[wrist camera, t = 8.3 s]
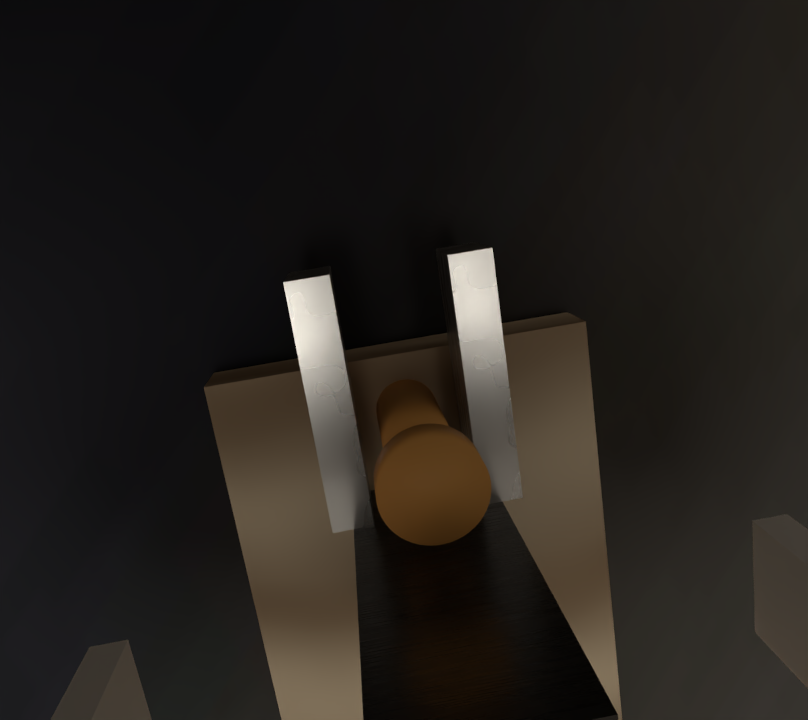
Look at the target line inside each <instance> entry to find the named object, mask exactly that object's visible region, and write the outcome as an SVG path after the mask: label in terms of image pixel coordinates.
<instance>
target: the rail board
mask: <svg viewBox="0 0 808 720" xmlns="http://www.w3.org/2000/svg"><path fill="white" fill-rule="evenodd" d="M502 330H503V339H504V347H505V355H506V363H507V372H508V380H509V388H510V396H511V404H512V413H513V421H514V429H515V437H516V446H517V454H518V462H519V470H520V478H521V487H522V495H523V498H519V499H514V500H508V501H503V503H504V505H505V507H506V509H507V511H508V513H509V515H510V516H511V518H512V520H513V522H514V524H515V526H516V527H517V529H518V531H519V533H520V535H521V537H522V539H523V540H524V542H525V544H526V546H527V548H528V550H529V551H530V553H531V555H532V557H533V559H534V561H535V562H536V564H537V566H538V568H539V570H540V572H541V574H542V575H543V577H544V579H545V581H546V583H547V585H548V586H549V588H550V590H551V592H552V594H553V596H554V598H555V599H556V601H557V603H558V605H559V607H560V609H561V610H562V612H563V614H564V616H565V618H566V620H567V621H568V623H569V625H570V627H571V629H572V631H573V633H574V634H575V636H576V638H577V640H578V642H579V644H580V645H581V647H582V649H583V651H584V653H585V655H586V657H587V658H588V660H589V662H590V664H591V666H592V668H593V669H594V671H595V673H596V675H597V677H598V679H599V680H600V682H601V684H602V686H603V688H604V690H605V692H606V693H607V695H608V697H609V699H610V701H611V703H612V704H613V706H614V708H615V710H616V712H617V714H618V720H622V713H621V702H620V691H619V680H618V669H617V658H616V647H615V636H614V625H613V614H612V603H611V592H610V581H609V571H608V560H607V549H606V538H605V527H604V516H603V505H602V494H601V483H600V472H599V461H598V450H597V439H596V428H595V417H594V406H593V395H592V384H591V373H590V362H589V351H588V340H587V329H586V321H584V320H582V319H580V318H578V317H576V316H574V315H572V314H570V313H568V312H565V313H560V314H554V315H548V316H542V317H536V318H530V319H525V320H519V321H513V322H507V323H502ZM345 351H346V357H347V362H348V368H349V373H350V379H351V384H352V390H353V396H354V401H355V407H356V412H357V418H358V423H359V429H360V434H361V440H362V446H363V451H364V457H365V462H366V468H367V473H368V479H369V485H370V490H375V487H374V468H375V464H376V461H377V458H378V456H379V454H380V452H381V450H382V449H383V447H382V441H381V436H380V430H379V425H378V419H377V414H376V405H377V401H378V398H379V396H380V394H381V393H382V391H383V390H384V389H385V388H386V387H387V386H389V385H390V384H392V383H394V382H396V381H399V380H404V379H411V380H416V381H419V382H421V383H423V384H424V385H426V386H427V387H428V388H429V389H430V390H431V391H432V393H433V395H434V397H435V399H436V401H437V403H438V405H439V407H440V409H441V411H442V413H443V415H444V417H445V419H446V421H447V423H448V425H449V427H452V428H454V429H456V430H458V431H460V432H461V429H460V422H459V415H458V408H457V401H456V394H455V387H454V379H453V372H452V365H451V358H450V351H449V344H448V337H447V333H443V334H437V335H431V336H425V337H420V338H414V339H408V340H402V341H396V342H390V343H385V344H379V345H373V346H367V347H361V348H355V349H350V350H345ZM204 391H205V395H206V399H207V403H208V408H209V412H210V416H211V420H212V425H213V429H214V433H215V438H216V442H217V446H218V450H219V455H220V459H221V463H222V467H223V472H224V476H225V480H226V484H227V489H228V493H229V497H230V502H231V506H232V510H233V514H234V519H235V523H236V527H237V531H238V536H239V540H240V544H241V548H242V553H243V557H244V561H245V565H246V570H247V574H248V578H249V583H250V587H251V591H252V595H253V600H254V604H255V608H256V612H257V617H258V621H259V625H260V629H261V634H262V638H263V642H264V647H265V651H266V655H267V659H268V664H269V668H270V672H271V676H272V681H273V685H274V689H275V693H276V698H277V702H278V706H279V711H280V715H281V719H282V720H363V704H362V684H361V664H360V645H359V625H358V605H357V585H356V565H355V546H354V529H352V530H347V531H342V532H336V533H333V532H332V527H331V522H330V517H329V512H328V507H327V502H326V497H325V492H324V486H323V481H322V476H321V471H320V466H319V461H318V456H317V451H316V446H315V441H314V436H313V431H312V426H311V421H310V416H309V410H308V405H307V400H306V395H305V390H304V385H303V380H302V375H301V370H300V365H299V360H298V358H297V359H291V360H285V361H280V362H274V363H268V364H262V365H256V366H250V367H245V368H239V369H233V370H227V371H221V372H215V373H213V375H212V376H211V378H210V379H209V381H208V382H207V383H206V385H205V386H204Z"/></svg>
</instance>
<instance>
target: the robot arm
mask: <svg viewBox="0 0 808 720" xmlns="http://www.w3.org/2000/svg"><path fill="white" fill-rule="evenodd" d="M752 533H753V574H754V615H755V633H756V634H757V635H758V636H759V637H760V638H761V639H762V640H763V641H764V642H765V643H766V644H767V645H768V647H769V648H770V649H771V650H772V651H773V652H774V653H775V654H776V655H777V656H778V657H779V658H780V659H781V660H782V661H783V663H784V664H785V665H786V666H787V667H788V668H789V669H790V670H791V671H792V672H793V673H794V674H795V675H796V676H797V677H798V679H799V680H800V681H801V682H802V683H803V684H804V685H805V686H806V687H807V688H808V529H807V528H805V527H804V526H802V525H801V524H800V523H798V522H797V521H796V520H794V519H793V518H791V517H790V516H789V515H787V514H785V515H779V516H774V517H769V518H764V519H758V520H753V521H752ZM51 720H152V719H151V716H150V712H149V709H148V706H147V702H146V699H145V696H144V692H143V689H142V685H141V682H140V679H139V675H138V672H137V669H136V665H135V662H134V659H133V655H132V652H131V648H130V645H129V642H128V640H124V641H118V642H113V643H108V644H103V645H98V646H92V647H89V649H88V651H87V653H86V655H85V656H84V658H83V660H82V662H81V664H80V666H79V668H78V669H77V671H76V673H75V675H74V677H73V679H72V681H71V683H70V684H69V686H68V688H67V690H66V692H65V694H64V696H63V698H62V699H61V701H60V703H59V705H58V707H57V709H56V711H55V712H54V714H53V716H52V718H51Z"/></svg>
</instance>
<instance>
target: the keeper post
mask: <svg viewBox="0 0 808 720" xmlns="http://www.w3.org/2000/svg"><path fill="white" fill-rule="evenodd" d="M376 414H377V419H378V425H379V430H380V436H381V441H382V447H383V449H382V450H381V452H380V454H379V456H378V458H377V461H376V464H375V468H374V487H375V495H376V503H377V507H378V511H379V513H380V515H381V517H382V519H383V521H384V522H385V524H386V525H387V526H388V527H389V529H390V530H392V531H393V532H394V533H395V534H396V535H398V536H399V537H401V538H403V539H404V540H406V541H409V542H412V543H415V544H419V545H427V546H433V545H442V544H446V543H450V542H453V541H455V540H457V539H459V538H461V537H463V536H465V535H466V534H467V533H469V532H470V531H471V530H472V529H474V528H475V527H476V525H477V524H478V523H479V522H480V521H481V519H482V518H483V516H484V514H485V512H486V511H487V508H488V505H489V502H490V498H491V480H490V475H489V472H488V469H487V467H486V465H485V463H484V462H483V460H482V458H481V456H480V454H479V452H478V451H477V449H476V447H475V446H474V444H473V443H472V442H471V441H470V440H469V439H468V437H466V436H465V435H464V434H463V433H461V432H460V431H458V430H456V429H454V428H452V427H449V425H448V423H447V421H446V419H445V417H444V415H443V413H442V411H441V409H440V407H439V405H438V403H437V401H436V399H435V397H434V395H433V393H432V391H431V390H430V389H429V388H428V387H427V386H426V385H424V384H423V383H421V382H419V381H416V380H411V379H404V380H399V381H396V382H394V383H392V384H390V385H389V386H387V387H386V388H385V389H384V390H383V391H382V393H381V394H380V396H379V398H378V401H377V405H376Z"/></svg>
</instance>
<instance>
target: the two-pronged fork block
mask: <svg viewBox="0 0 808 720" xmlns="http://www.w3.org/2000/svg"><path fill="white" fill-rule="evenodd" d="M435 253H436V260H437V267H438V274H439V281H440V288H441V295H442V302H443V309H444V316H445V323H446V330H447V337H448V344H449V351H450V358H451V365H452V372H453V379H454V387H455V394H456V401H457V408H458V415H459V422H460V429H461V433H463V434H464V435H465V436H466V437H468V439H469V440H470V441H471V442H472V443H473V444H474V446H475V447H476V449H477V451H478V452H479V454H480V456H481V458H482V460H483V462H484V463H485V465H486V467H487V469H488V472H489V475H490V480H491V498H490V502H489V505H488V508H487V511H486V512H485V514H484V516H483V518H482V519H481V521H480V522H479V523H478V524H477V525H476V527H475V528H474V529H472V530H471V531H470V532H469V533H467V534H466V535H465V536H463V537H461V538H459V539H457V540H455V541H453V542H450V543H446V544H442V545H433V546H427V545H419V544H415V543H412V542H409V541H406V540H404V539H403V538H401V537H399V536H398V535H396V534H395V533H394V532H393V531H392V530H390V529H389V527H388V526H387V525H386V524H385V522H384V521H383V519H382V517H381V515H380V513H379V511H378V507H377V503H376V495H375V490H370V485H369V479H368V473H367V468H366V462H365V457H364V451H363V446H362V440H361V434H360V429H359V423H358V418H357V412H356V407H355V401H354V396H353V390H352V384H351V379H350V373H349V368H348V362H347V357H346V351H345V345H344V340H343V334H342V329H341V323H340V318H339V312H338V306H337V301H336V295H335V290H334V284H333V279H332V273H331V268H330V266H325V267H319V268H313V269H307V270H301V271H295V272H289V274H288V275H287V277H286V279H285V280H284V282H283V284H284V289H285V294H286V299H287V304H288V309H289V314H290V319H291V324H292V329H293V335H294V340H295V345H296V350H297V355H298V360H299V365H300V370H301V375H302V380H303V385H304V390H305V395H306V400H307V405H308V410H309V416H310V421H311V426H312V431H313V436H314V441H315V446H316V451H317V456H318V461H319V466H320V471H321V476H322V481H323V486H324V492H325V497H326V502H327V507H328V512H329V517H330V522H331V527H332V532H333V533H336V532H342V531H347V530H352V529H354V546H355V565H356V585H357V605H358V625H359V645H360V664H361V684H362V704H363V720H618V714H617V712H616V710H615V708H614V706H613V704H612V703H611V701H610V699H609V697H608V695H607V693H606V692H605V690H604V688H603V686H602V684H601V682H600V680H599V679H598V677H597V675H596V673H595V671H594V669H593V668H592V666H591V664H590V662H589V660H588V658H587V657H586V655H585V653H584V651H583V649H582V647H581V645H580V644H579V642H578V640H577V638H576V636H575V634H574V633H573V631H572V629H571V627H570V625H569V623H568V621H567V620H566V618H565V616H564V614H563V612H562V610H561V609H560V607H559V605H558V603H557V601H556V599H555V598H554V596H553V594H552V592H551V590H550V588H549V586H548V585H547V583H546V581H545V579H544V577H543V575H542V574H541V572H540V570H539V568H538V566H537V564H536V562H535V561H534V559H533V557H532V555H531V553H530V551H529V550H528V548H527V546H526V544H525V542H524V540H523V539H522V537H521V535H520V533H519V531H518V529H517V527H516V526H515V524H514V522H513V520H512V518H511V516H510V515H509V513H508V511H507V509H506V507H505V505H504V503H503V501H508V500H514V499H519V498H523V495H522V487H521V478H520V470H519V462H518V454H517V446H516V437H515V429H514V421H513V413H512V404H511V396H510V388H509V380H508V372H507V363H506V355H505V347H504V339H503V330H502V322H501V314H500V306H499V298H498V289H497V281H496V273H495V265H494V256H493V248H492V247H489V246H486V245H483V244H480V243H477V242H471V243H465V244H459V245H453V246H447V247H441V248H435Z"/></svg>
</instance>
